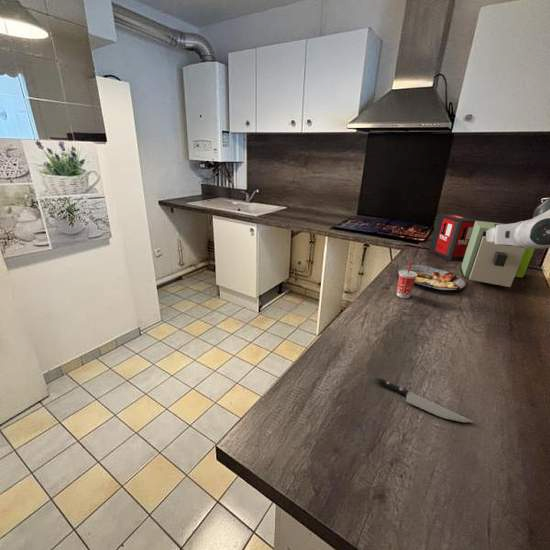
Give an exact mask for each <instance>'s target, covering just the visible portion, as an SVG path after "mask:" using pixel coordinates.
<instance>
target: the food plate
mask: <svg viewBox="0 0 550 550" xmlns="http://www.w3.org/2000/svg"><path fill="white" fill-rule="evenodd" d="M409 265H410V264H409ZM409 265H408V264H407V265H403V266H400V268H399V269H398V270H397V272H398V274H399V271H400V270H408V269H409ZM410 271H413V272H415V273H417V278H416V279H415V282H414V284H417V285H421V286H424V287H428V288H433V289H436V290H440V291H448V292H449V291H450V292H451V291H459V290H463V289H464V288H465V287H466V286H467V283H466V281H465V280H464V279H463V278H462V277H461V276H459V275H457V274H456V273H453V272H451V271H447V270H444V269H440V268H435V267H433V266H432V267H431V266H426V265H416V264H413V265H412V264H411V267H410Z"/></svg>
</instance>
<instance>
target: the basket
mask: <svg viewBox="0 0 550 550" xmlns="http://www.w3.org/2000/svg"><path fill="white" fill-rule="evenodd" d="M524 252H525V248H519V247H515V246H507V245H495V243H492V242H487V241H486V237H484V236H483V238H482V241H481V244H480V247H478V250H477V253H476V256H475V259H474V262H473V265H472V268H471V271H470V272H471V274H470V277H469V278H468V280H469V281H474V282H480V283H486V284H491V285H497V286H500V287H501V286H502V287H508V288H511V287H512V284H513V282H514V279H515V278H516V277H515V274H516V272H517V269H518V267H519V264H520V262H521V259H522V257H523V254H524Z"/></svg>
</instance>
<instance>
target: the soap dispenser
mask: <svg viewBox="0 0 550 550" xmlns="http://www.w3.org/2000/svg"><path fill="white" fill-rule="evenodd" d="M535 250H536V249H525V252H524V254H523V257H522V259H521V262H520V264H519V267H518V269H517V272H516V274H515V277H514V278H520V279H521V278H524V277H525V274H526V273H527V272H526V271H527V269H528V267H529V265H530V262H531V259H532V257H533V255H534V252H535Z"/></svg>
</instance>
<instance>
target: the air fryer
mask: <svg viewBox="0 0 550 550" xmlns="http://www.w3.org/2000/svg"><path fill="white" fill-rule="evenodd" d="M501 224H502V223H500V222H491V221H483V220H477V221H475V224H474V227H473V230H472V234H471V237H470V240H469V243H468V247H467V250H466V253H465V256H464V259H463V260H462V263H461V270H462V274H463V277H464V278H468V279H469V277H470V274H471V272H470V271H471V268H472V265H473V262H474V259H475V256H476V253H477V250H478V247H480V244H481V241H482V238H483V236H484V237H486V232H487V230H489V229H491V228H495V227H496V225H501Z"/></svg>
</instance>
